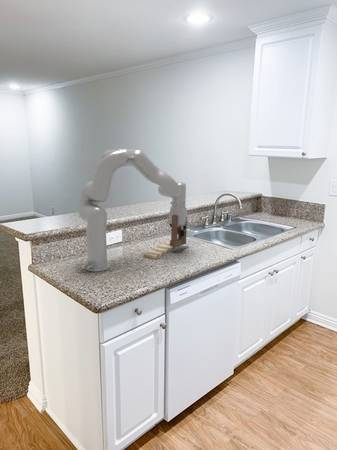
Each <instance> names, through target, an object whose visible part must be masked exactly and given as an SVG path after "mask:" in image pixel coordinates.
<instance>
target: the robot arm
mask: <svg viewBox="0 0 337 450" xmlns="http://www.w3.org/2000/svg"><path fill="white" fill-rule="evenodd" d="M126 166H127V167H130V166H131V167H134V169H136V171H138V172H139V173H140V174H141V175H142V176H143V178H144V179H145V180H146V181H149V182H150V183H153V184H155V185H157V186H158V187H157V191H158V193H159V195H161V196H163V197H165V198H166V197H167V198H171V201H170V202H169V204H170V205H171V206H170V209H169V214H168V220H167V222H166V224H168V226H169V227H170V228H171V227H172V215H176V216H178V226H179V225H181V231H180V237H183V236H184V229H186V228H187V229H188V227H189V226H190V225H191V224H190V222H189V220H188V218H189V217H188V209H187V207H186V200H187V199H186V196H187V195H186V194H187V192H186V191H187V185H186V183H185V182H177V181H176V180H175V179H174V178H173V177H172V176H171V175H169V174H168V173H167V172H165V171H163V170H162V169H160V168H159V167H158V166H157V165H156V164H155V163H154V162H153V161H152V160H151V159H150V158H149V157H148V155H146V154H145V152H143V151H142V150H140V149H135V148H134V149H106V150H105V151H104V152H103V153H102V154H101V160H100V161H99V162H98V164H97V166H96V168H95V171H94V174H93V179H92V180H91V181H90V180H89V181H88V182H86V184H84V185H83V188H82V191H81V195H80V201H79V205H78V215H79V217H80V219H82V220H83V221H84V222H87V224H86V231H85V235H86V236H85V237H86V238H85V239H86V257H87V258H86V259H87V260H86V261H85V263H84V264H82V265H80V266H81V269H83V270H84V269H85V270H86V271H87V272H104V271H106V270H108V269H110V268H111V264H110V263H109V261H108V253H107V223H108V222H107V221H108V213H107V211H106V209H105V208H104V207H103V206H101V205H100V204H99V203H105V202H106V201H107V200H108V198H109V195H110V189H111V184H112V180H113V177H114V174H115V172H116V171H117V170H118V169H120V168H123V167H126ZM185 224H187V225H186V226H185Z"/></svg>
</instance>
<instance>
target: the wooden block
mask: <svg viewBox="0 0 337 450" xmlns="http://www.w3.org/2000/svg"><path fill="white" fill-rule="evenodd" d="M186 225H187V224H185V226H186ZM170 229H171V233H170V234H171V235H170V237H171V238H170V240H169V241H170V246H172V247H177V246H181V245H182V246H185V245H186V244H187V231H188V230H187V229H188V227H187V228H186V229H184V236H183V237H180V231H181V225H178V216H176V215H172V227H171V226H170Z"/></svg>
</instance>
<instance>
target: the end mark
mask: <svg viewBox="0 0 337 450" xmlns="http://www.w3.org/2000/svg"><path fill="white" fill-rule="evenodd" d="M189 248H190V246H189V245H188V246H187V245H180V246H179V247H177V248H175V249H174V250H172V251H170V253H174V254H181V253H183V252H185V251H187V250H188V249H189Z"/></svg>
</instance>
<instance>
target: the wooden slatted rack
mask: <svg viewBox="0 0 337 450" xmlns="http://www.w3.org/2000/svg"><path fill="white" fill-rule="evenodd" d="M177 247H179V246H177ZM177 247H172V246H170V240H168V241H166V242H163V243H162V244H160V245H158V246H156V247H154V248H152V249H150V250H148V251H146V252H144V253H142V257H143V258H145V259H151V260H158V259H159V258H161V257H163V256H165V255H167V254H168V253H171V251H172V250H174V249H176V248H177Z"/></svg>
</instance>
